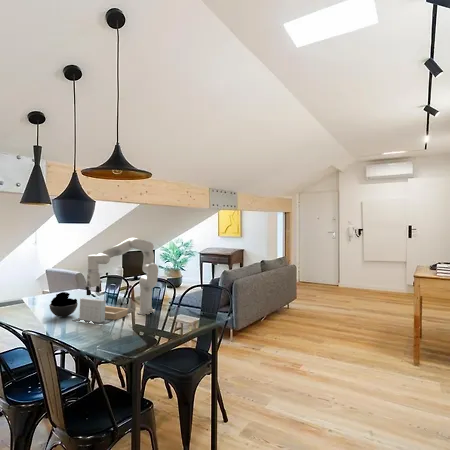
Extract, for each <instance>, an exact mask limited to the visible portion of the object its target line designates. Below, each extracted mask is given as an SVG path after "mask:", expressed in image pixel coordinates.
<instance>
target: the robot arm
mask: <svg viewBox="0 0 450 450" xmlns="http://www.w3.org/2000/svg"><path fill="white" fill-rule="evenodd" d="M154 248H155V247H154V243H152V242H151V241H147V240H145V239H141V238H137V237H129V238H128V239H125V240H124V241H122V242H121V243H119V244H117V245H114V246H112V247H110V248H107V249H105V250H103V251H101V252H99V253H98V254H89V255H88V256H87V276H86V282H85V283H84V284H83V287H84V288H85V290H86V296H91V288H94V287H95V293H97V294H98V293H99V294H100V291H101V286H102V280H101V275H100V272H99V271H100V270H99V268H100V267H99V265H107V264H109V263H110V261H111V259H112V258H113V257H119V256H121V255H124V254H126V253H128V252H130V251H131V250H134V249H136V250H139V251H141V253H142V254H143V260H142V261H143V263H142V272H143V273H145V274H144V275H141V277H140V278H139V291H140V292H139V310H138V311H137V314H139V315H142V316H143V315H145V314H147V315H151V314H150V313H152V312H153V313H156V312H155V311H156V309H155V308H154V309H153V306H152V303H153V301H152V297H153V295H152V294H153V290H152V289H153V288H155V287H156V286H157V285H158V276H159V267H158V265H157V264H156V263H155V262H154V261H155V254H154V251H153V250H154ZM153 313H152V314H153Z"/></svg>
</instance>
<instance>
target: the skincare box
mask: <svg viewBox="0 0 450 450" xmlns="http://www.w3.org/2000/svg"><path fill="white" fill-rule="evenodd" d="M106 301H107V300H105V299H99V298H90V297H81V298H79V314H78V315H79V316H78V318H79V319H80V320H86V321H92V322H99V323H101V322H104V321H105V320H106V318H105V306H106Z"/></svg>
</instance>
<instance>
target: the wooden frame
mask: <svg viewBox="0 0 450 450" xmlns="http://www.w3.org/2000/svg"><path fill="white" fill-rule="evenodd" d="M128 311H129V308H127V307H119V306H110V305H105V320H107V319H108V320H114V321H115V320H119V319H121V318H124V317H127V316H128Z"/></svg>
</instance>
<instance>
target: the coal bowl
mask: <svg viewBox="0 0 450 450" xmlns="http://www.w3.org/2000/svg"><path fill="white" fill-rule="evenodd" d="M70 295H71V294H70V293H69V292H66V291H62V292H60V293H59V292H58V293H56V295H55V297H53V298H52V300H50V304H49V310H50V312H51V313H52V314H53V315H54V316H56V317H58V318H65V317H69V316H71V315H72V314H73V313H74V312H75V311H76V309H77V308H78V305H79V304H78V299H77V298H74V299H73V298H70Z"/></svg>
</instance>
